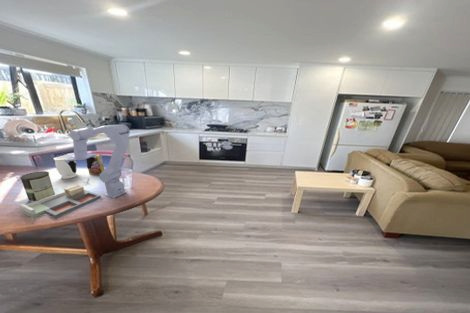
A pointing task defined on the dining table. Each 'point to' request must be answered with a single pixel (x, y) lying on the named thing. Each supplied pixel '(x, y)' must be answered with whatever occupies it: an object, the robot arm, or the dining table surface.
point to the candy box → (97, 165)
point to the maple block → (74, 190)
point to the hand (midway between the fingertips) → (81, 170)
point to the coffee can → (37, 185)
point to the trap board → (58, 204)
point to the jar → (64, 167)
